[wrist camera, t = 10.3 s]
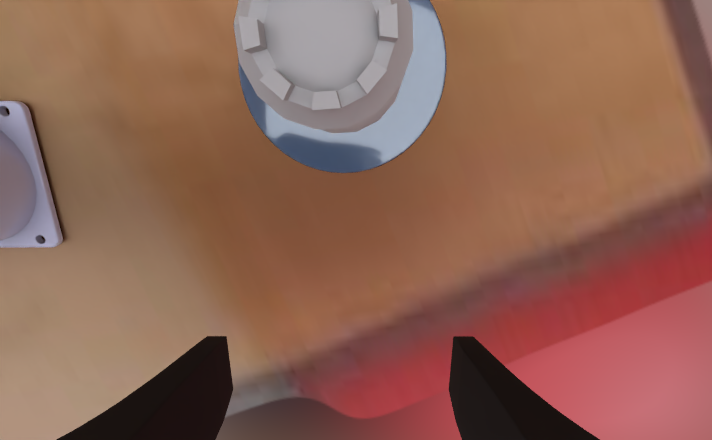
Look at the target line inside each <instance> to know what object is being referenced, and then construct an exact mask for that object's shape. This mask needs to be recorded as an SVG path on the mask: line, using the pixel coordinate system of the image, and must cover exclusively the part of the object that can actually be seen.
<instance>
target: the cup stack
mask: <svg viewBox="0 0 712 440" xmlns="http://www.w3.org/2000/svg"><path fill="white" fill-rule="evenodd" d="M408 1H409V4H410V6H411V9H412V19H413V52H412V55H411V57H410V60H409V63H408V66H407V69H406V72H405V75H404V77H403V80H402V83H401V86H400V89H399V92H398V95H397V97H396V100H395V102H394V103H393V104H392V106H391V107H390V108H389V109H388V110H387V111H386V113H385V114H384V115H383V116H382V117H381V118H380V120H379V121H377V122H375V123H373V124H371V125H369V126H367V127H365V128H363V129H361V130H359V131H357V132H345V133H330V132H327V131H324V130H321V129H313V128H310V127H307V126H304V125H301V124H298V123H296V122H293V121H290V120H287V119H284V118H283V117H282V116H280V115H279V114H278V113H277V112H276V111H275V110H273V109H272V108H271V107H270V106H269V105H268V104H266V103H265V102H264V101H263V100H262V99H261V98H259V97H258V96H257V94H256V92H255V90H254V89H253V87H252V85H251V83H250V81H249V80H248V78H247V76H246V74H245V72H244V70H243V69H242V67H241V65H240V63H239V57H238V66H239V76H240V83H241V87H242V91H243V94H244V98H245V101H246V103H247V105H248V108H249V110H250V113H251V114H252V116H253V118H254V120H255V121H256V123H257V125H258V126H259V128H260V129H261V130H262V132H263V133H264V134H265V136H266V137H267V138H268V139H269V140H270V141H271V142H272V143H273V144H274V145H275V146H276V147H277V148H279V149H280V150H281V151H282V152H283V153H285V154H286V155H288V156H289V157H291V158H292V159H294V160H295V161H298V162H300V163H302V164H304V165H306V166H309V167H312V168H315V169H318V170H322V171H327V172H334V173H353V172H360V171H365V170H369V169H372V168H375V167H378V166H381V165H383V164H385V163H387V162H389V161H391V160H393V159H394V158H396V157H397V156H399V155H400V154H402V153H403V152H404V151H406V150H407V149H408V148H409V147H410V146H411V145H413V144H414V142H415V141H416V140H417V139H418V138H419V137H420V136H421V135H422V133H423V132H424V130H425V129H426V128H427V126H428V125H429V123H430V121H431V120H432V118H433V116H434V114H435V112H436V110H437V107H438V105H439V102H440V99H441V96H442V92H443V88H444V84H445V76H446V47H445V39H444V35H443V31H442V27H441V24H440V21H439V19H438V16H437V14H436V11H435V9H434V7H433V5H432V4H431V2H430V0H408Z"/></svg>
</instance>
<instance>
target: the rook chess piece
mask: <svg viewBox="0 0 712 440" xmlns="http://www.w3.org/2000/svg"><path fill="white" fill-rule="evenodd" d="M234 31H235V37H236V44H237V50H238V57H239V63H240V65H241V67H242V69H243V70H244V72H245V74H246V76H247V78H248V80H249V81H250V83H251V85H252V87H253V89H254V90H255V92H256V94H257V96H258V97H259V98H261V99H262V100H263V101H264V102H265V103H266V104H268V105H269V106H270V107H271V108H272V109H273V110H275V111H276V112H277V113H278V114H279V115H280V116H282V117H283V118H284V119H287V120H290V121H293V122H296V123H298V124H301V125H304V126H307V127H310V128H313V129H321V130H324V131H327V132H330V133H345V132H357V131H359V130H361V129H363V128H365V127H367V126H369V125H371V124H373V123H375V122H377V121H379V120H380V118H381V117H382V116H383V115H384V114H385V113H386V111H387V110H388V109H389V108H390V107H391V106H392V104H393V103H394V102H395V100H396V97H397V95H398V92H399V89H400V86H401V83H402V80H403V77H404V75H405V72H406V69H407V66H408V63H409V60H410V57H411V55H412V52H413V19H412V9H411V6H410V4H409V1H408V0H239V2H238V6H237V11H236V16H235V21H234Z"/></svg>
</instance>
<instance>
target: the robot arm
mask: <svg viewBox="0 0 712 440" xmlns="http://www.w3.org/2000/svg"><path fill="white" fill-rule="evenodd" d="M6 108H8V109H9V111H10V114H7V112H6ZM41 236H43V237H44V238H45V241H44V240H43V239H42V237H41ZM62 241H63V237H62V233H61V229H60V225H59V222H58V218H57V214H56V210H55V206H54V202H53V199H52V195H51V191H50V187H49V183H48V179H47V176H46V172H45V168H44V164H43V160H42V157H41V153H40V149H39V145H38V141H37V137H36V134H35V130H34V126H33V122H32V118H31V114H30V111H29V109H28V107H27V106H26V105H25V104H24V103H23V102H20V101H0V247H56V246H58V245H60V244H61V243H62ZM232 391H233V384H232V376H231V368H230V361H229V353H228V345H227V337H226V336H207V337H206V338H204V339H203V340H202V341H200V342H199V343H198V344H196V345H195V346H194V347H192V348H191V349H190V350H189V351H187V352H186V353H185V354H184V355H182V356H181V357H180V358H178V359H177V360H176V361H175V362H173V363H172V364H171V365H169V366H168V367H167V368H166V369H164V370H163V371H162V372H160V373H159V374H158V375H156V376H155V377H154V378H152V379H151V380H150V381H148V382H147V383H145V384H144V385H143V386H141V387H140V388H138V389H137V390H136V391H134V392H133V393H131V394H130V395H129V396H127V397H126V398H124V399H123V400H122V401H120V402H119V403H117V404H116V405H114V406H112V407H111V408H109V409H108V410H106V411H105V412H103V413H102V414H100V415H98V416H97V417H95V418H93V419H92V420H90V421H88V422H87V423H85V424H84V425H82V426H80V427H78V428H77V429H75V430H73V431H72V432H70V433H68V434H66V435H64V436H62V437H60V438H59V439H57V440H215V439H216V437H217V434H218V432H219V430H220V428H221V426H222V423H223V421H224V418H225V415H226V411H227V408H228V405H229V402H230V398H231V395H232ZM449 392H450V397H451V402H452V407H453V411H454V415H455V419H456V423H457V426H458V429H459V432H460V435H461V437H462V440H600V439H598V438H596V437H595V436H593V435H592V434H590V433H589V432H587V431H586V430H584V429H583V428H581V427H580V426H579V425H577V424H576V423H574V422H573V421H571V420H570V419H569V418H567V417H566V416H564V415H563V414H562V413H560V412H559V411H558V410H556V409H555V408H553V407H552V406H551V405H550V404H548V403H547V402H546V401H545V400H543V399H542V398H541V397H540V396H538V395H537V394H536V393H535V392H533V391H532V390H531V389H530V388H529V387H527V386H526V385H525V384H524V383H523V382H522V381H520V380H519V379H518V378H517V377H516V376H515V375H514V374H512V373H511V372H510V371H509V370H508V369H507V368H506V367H505V366H504V365H503V364H502V363H501V362H499V361H498V360H497V359H496V358H495V357H494V356H493V355H492V354H491V353H490V352H489V351H488V350H487V349H486V348H485V347H484V346H483V345H482V344H481V343H479V342H478V341H477V340H476V339H475V338H474V337H454V338H453V349H452V360H451V371H450V382H449Z"/></svg>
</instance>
